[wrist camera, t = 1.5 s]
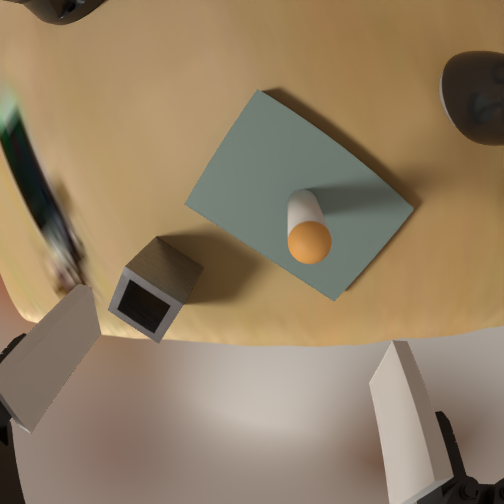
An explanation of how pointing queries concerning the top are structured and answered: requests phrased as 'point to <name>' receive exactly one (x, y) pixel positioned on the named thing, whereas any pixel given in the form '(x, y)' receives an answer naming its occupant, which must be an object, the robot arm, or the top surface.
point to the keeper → (297, 197)
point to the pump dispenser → (475, 95)
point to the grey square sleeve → (154, 288)
